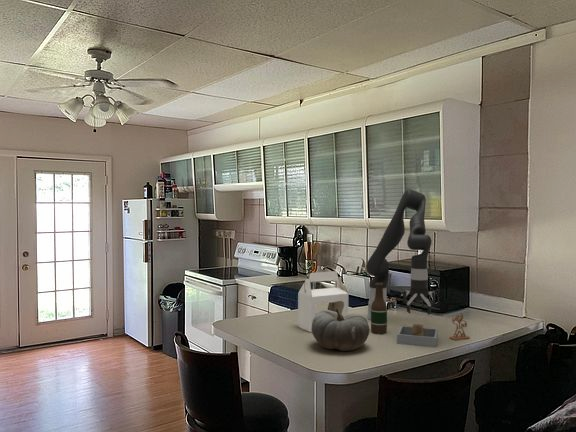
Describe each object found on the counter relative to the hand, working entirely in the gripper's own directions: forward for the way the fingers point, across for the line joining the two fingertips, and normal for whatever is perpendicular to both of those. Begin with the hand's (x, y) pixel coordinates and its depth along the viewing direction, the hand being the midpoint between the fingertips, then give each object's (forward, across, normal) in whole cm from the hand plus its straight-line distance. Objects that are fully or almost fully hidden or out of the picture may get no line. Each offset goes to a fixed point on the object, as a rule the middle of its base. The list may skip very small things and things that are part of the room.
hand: (419, 313), depth 225 cm
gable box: (+12, -47, +8) cm, 50 cm away
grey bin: (+12, 0, 0) cm, 12 cm away
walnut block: (+12, 0, 0) cm, 12 cm away
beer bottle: (+12, -19, +8) cm, 24 cm away
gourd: (+12, -32, -22) cm, 40 cm away
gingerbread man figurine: (+13, +18, +10) cm, 24 cm away
